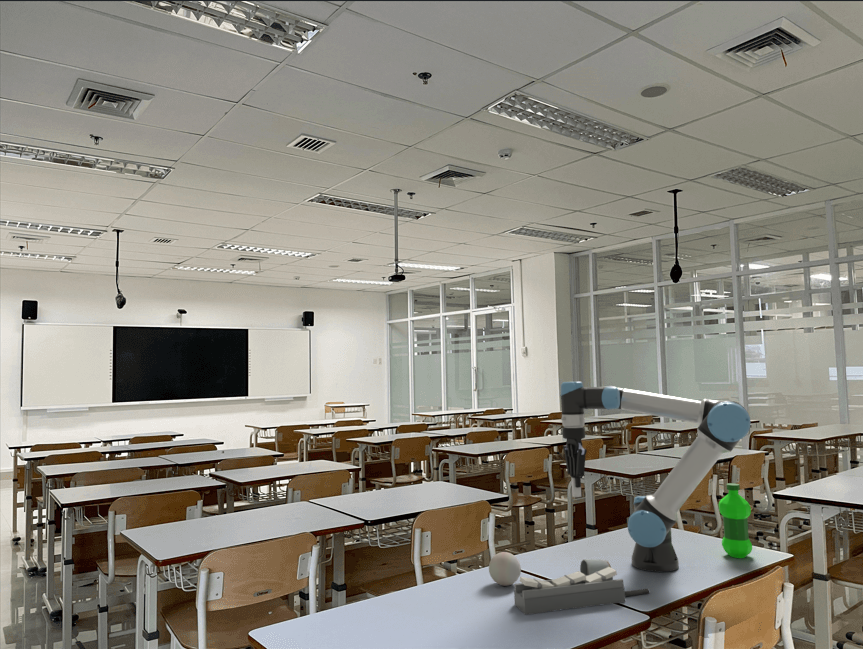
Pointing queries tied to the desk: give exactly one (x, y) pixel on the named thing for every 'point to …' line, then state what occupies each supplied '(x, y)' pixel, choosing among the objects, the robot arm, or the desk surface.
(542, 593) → the power strip
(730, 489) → the plastic bottle
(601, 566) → the ceramic mug
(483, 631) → the desk surface
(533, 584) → the end rocker
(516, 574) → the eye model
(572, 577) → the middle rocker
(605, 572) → the rocker
